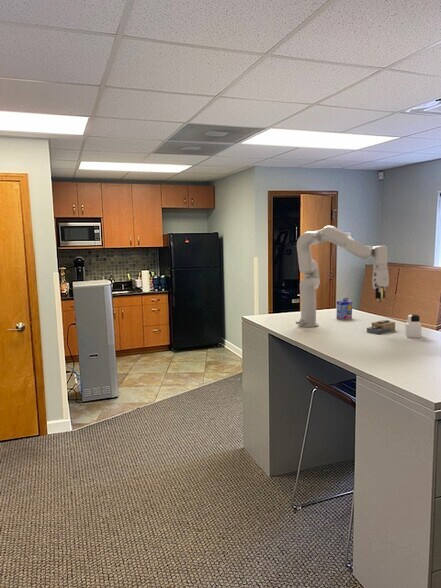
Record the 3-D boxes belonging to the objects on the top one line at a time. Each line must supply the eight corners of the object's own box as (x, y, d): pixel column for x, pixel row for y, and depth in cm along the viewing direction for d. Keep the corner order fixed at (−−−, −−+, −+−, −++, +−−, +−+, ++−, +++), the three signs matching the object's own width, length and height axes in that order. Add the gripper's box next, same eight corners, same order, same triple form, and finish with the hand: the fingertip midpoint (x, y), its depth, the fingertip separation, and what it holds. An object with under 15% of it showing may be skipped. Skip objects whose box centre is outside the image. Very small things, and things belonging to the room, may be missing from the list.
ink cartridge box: (341, 319, 287) (341, 298, 285) (335, 318, 292) (336, 297, 290) (352, 318, 291) (352, 297, 290) (347, 317, 296) (347, 296, 295)
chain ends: (378, 334, 242) (378, 324, 242) (366, 332, 249) (366, 322, 248) (395, 330, 251) (395, 321, 251) (383, 328, 258) (383, 319, 257)
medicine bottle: (418, 334, 238) (419, 314, 237) (421, 337, 231) (421, 316, 230) (405, 334, 240) (405, 313, 239) (407, 337, 233) (407, 316, 232)
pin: (380, 302, 247) (381, 285, 245) (376, 301, 249) (376, 284, 248) (384, 301, 248) (384, 284, 247) (379, 301, 251) (379, 284, 250)
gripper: (377, 268, 239) (377, 300, 241) (394, 266, 248) (394, 297, 250) (366, 267, 245) (365, 299, 247) (383, 265, 254) (382, 296, 256)
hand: (380, 297), depth 249 cm, fingers closed on pin, 3 cm apart
